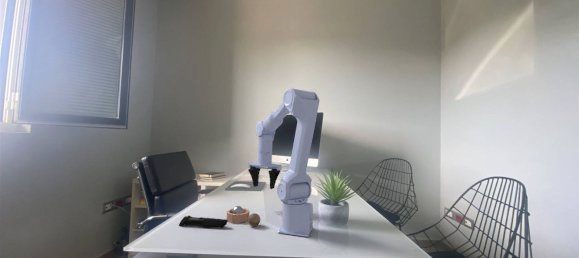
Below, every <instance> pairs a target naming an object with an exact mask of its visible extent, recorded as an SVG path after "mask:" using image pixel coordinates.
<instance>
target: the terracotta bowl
mask: <svg viewBox="0 0 579 258" xmlns="http://www.w3.org/2000/svg"><path fill="white" fill-rule="evenodd" d="M242 208H243V213H242V214H232V210H233V208H230V209H228V210H226V217H225V218H226V219H225V220H228V221H227V223H230V224H242V223H246V222H248V218H249V216H250V212H251V211H250V210H249V208H244V207H242Z"/></svg>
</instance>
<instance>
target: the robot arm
mask: <svg viewBox="0 0 579 258" xmlns="http://www.w3.org/2000/svg"><path fill="white" fill-rule="evenodd" d="M320 100H321V99H320V98H319V96H318V94H317V93H316V91H308V90H303V89H296V88H293V87H288V88H287V89H286V90H285V91H284V93H283V95H282V102H281V103H280V104H279V106H278V107H277V109H276V110H275V111H271V112H270V113H269V114H268V115H267V116H266V117H265V118H264V119H263V121H257V123H256V125H255V134H256V136H257V157H256V158H257V160H256V161H257V162H247V163H248V164H247V168H248V170H247V171H248V173H249V174H250V177H251V180H252V185H253V188H254V187H259V180H260V179H259V176H260V171H261V169H262V170H263V169H264V170H268V176H269V190H273V189H275V186H276V183H277V179H278V177H279V175H280V173H281V171H282V167H283V165H282V164H276V163H273V142H274V140H275V134H276V130H277V129H278V128H279V127H280V126H281V125H282V124H283V123H284V119H285V117H286V116H288V115H289V114H291V116H293V117H294V118H295V119H296V121H297V124H296V128H295V135H294V140H293V144H292V145H293V146H292V151H291V156H290V162H289V167H288V170H287V171H285V172H284V173H283V174H281V177H280V181H279V183H278V185H277V187H276V193H277V197H278V199H279V200H280V201H281V202H282V214H281V215H282V219H281V222H282V223H281V226H280V227H279V229H278V230H277V233H278V234H284V235H289V236H290V235H292V236H298V237H306V238H309V236H310V235H311V233H312V230H313V228H314V227H313V221H314V217H313V215H314V207H313V205H314V204H313V203H311V202H308V200H309V199H310V197H311V195H312V177H310V175H309V174H308V172H307V168H308V165H309V159H310V153H311V148H312V142H313V138H314V132H315V127H316V122H317V116H318V110H319V107H320V106H319V105H320Z"/></svg>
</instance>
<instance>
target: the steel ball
mask: <svg viewBox="0 0 579 258" xmlns="http://www.w3.org/2000/svg"><path fill="white" fill-rule="evenodd" d="M243 208H244V207H242V206H240V205H235V206H234V207H233V208H232V209H233V210H232V214H242V213H243Z"/></svg>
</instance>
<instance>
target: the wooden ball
mask: <svg viewBox="0 0 579 258" xmlns="http://www.w3.org/2000/svg"><path fill="white" fill-rule="evenodd" d="M247 223H248V225H250V226H251V227H253V228H254V227H258V225H260V223H261V217H260V214H258V213H255V212H253V213H251V214H249V218H248V221H247Z"/></svg>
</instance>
